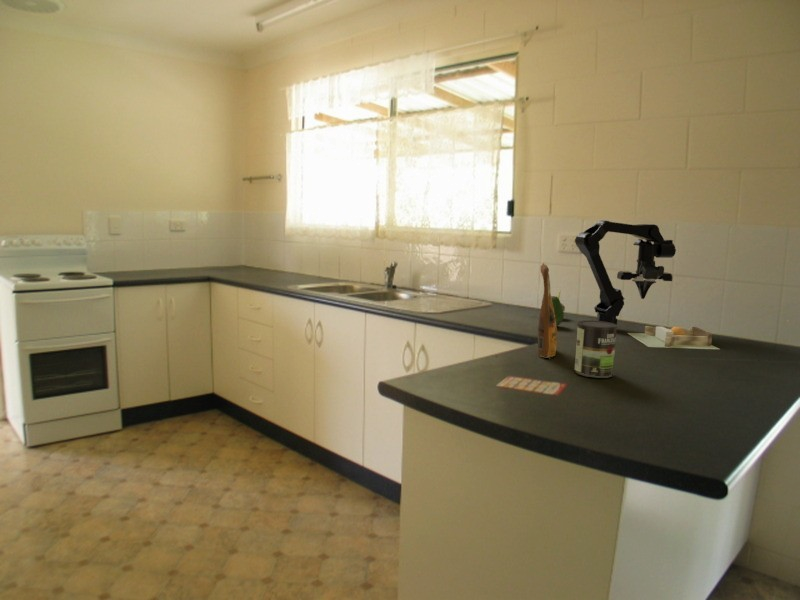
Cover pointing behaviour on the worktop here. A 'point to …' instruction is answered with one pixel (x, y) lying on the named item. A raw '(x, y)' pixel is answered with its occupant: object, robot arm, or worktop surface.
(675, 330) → the ball
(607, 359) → the coffee can
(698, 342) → the wooden tray
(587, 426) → the worktop surface
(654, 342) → the white flat square board
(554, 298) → the fruit
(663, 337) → the white block
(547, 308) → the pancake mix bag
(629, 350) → the worktop surface
